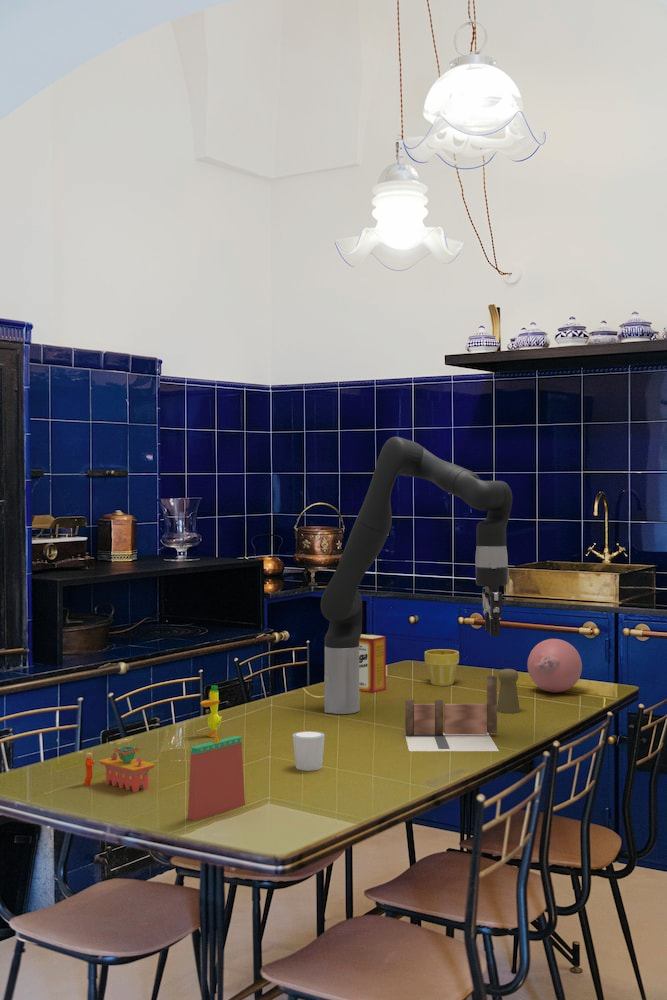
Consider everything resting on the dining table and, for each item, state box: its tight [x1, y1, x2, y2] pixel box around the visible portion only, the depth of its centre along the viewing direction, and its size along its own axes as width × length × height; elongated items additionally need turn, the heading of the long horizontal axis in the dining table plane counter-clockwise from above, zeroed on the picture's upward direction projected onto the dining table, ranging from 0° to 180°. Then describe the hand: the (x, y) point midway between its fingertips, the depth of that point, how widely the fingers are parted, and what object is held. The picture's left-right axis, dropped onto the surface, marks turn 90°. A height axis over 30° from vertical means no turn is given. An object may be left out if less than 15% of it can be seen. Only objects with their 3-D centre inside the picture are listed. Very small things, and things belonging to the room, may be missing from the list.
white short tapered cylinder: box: [292, 730, 326, 772], centre depth 227 cm, size 7×7×7 cm
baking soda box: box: [359, 633, 387, 694], centre depth 314 cm, size 10×6×16 cm
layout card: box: [404, 732, 500, 752], centre depth 248 cm, size 20×18×1 cm
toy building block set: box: [83, 734, 246, 822], centre depth 207 cm, size 12×35×14 cm, turn 49°
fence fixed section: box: [404, 698, 444, 737], centre depth 254 cm, size 9×2×8 cm, turn 89°
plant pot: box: [424, 648, 460, 687], centre depth 323 cm, size 10×10×10 cm
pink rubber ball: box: [527, 638, 583, 694], centre depth 307 cm, size 15×20×15 cm
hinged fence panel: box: [443, 675, 498, 734], centre depth 254 cm, size 12×2×14 cm, turn 89°
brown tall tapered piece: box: [497, 668, 521, 714], centre depth 284 cm, size 6×6×11 cm
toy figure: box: [200, 685, 222, 738], centre depth 255 cm, size 7×4×12 cm, turn 141°
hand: (492, 633), depth 254 cm, fingers open, 8 cm apart
